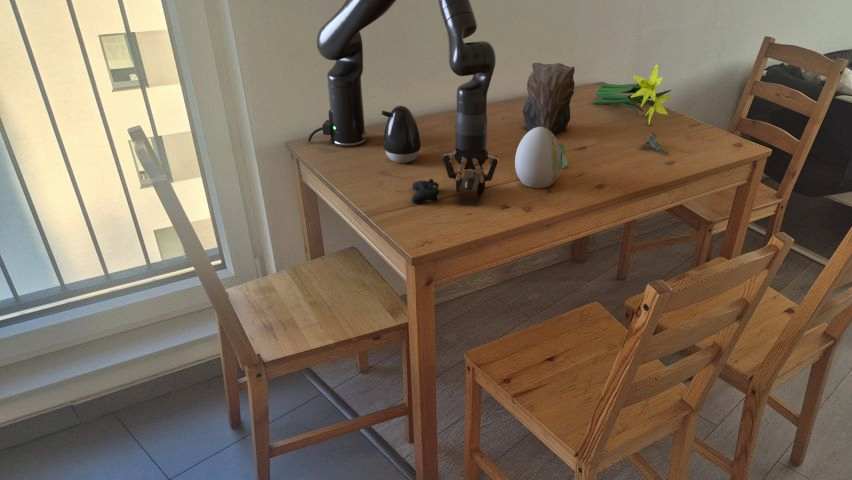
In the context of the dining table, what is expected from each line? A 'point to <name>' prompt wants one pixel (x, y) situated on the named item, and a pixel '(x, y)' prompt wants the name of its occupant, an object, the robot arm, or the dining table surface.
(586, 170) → the dining table surface
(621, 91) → the daffodil flowers
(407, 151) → the pump dispenser
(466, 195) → the scrub brush
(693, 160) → the dining table surface
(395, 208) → the dining table surface
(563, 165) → the seedling
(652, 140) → the dragon figurine
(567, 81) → the owl
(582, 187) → the dining table surface
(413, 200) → the game controller
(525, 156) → the decorative egg
